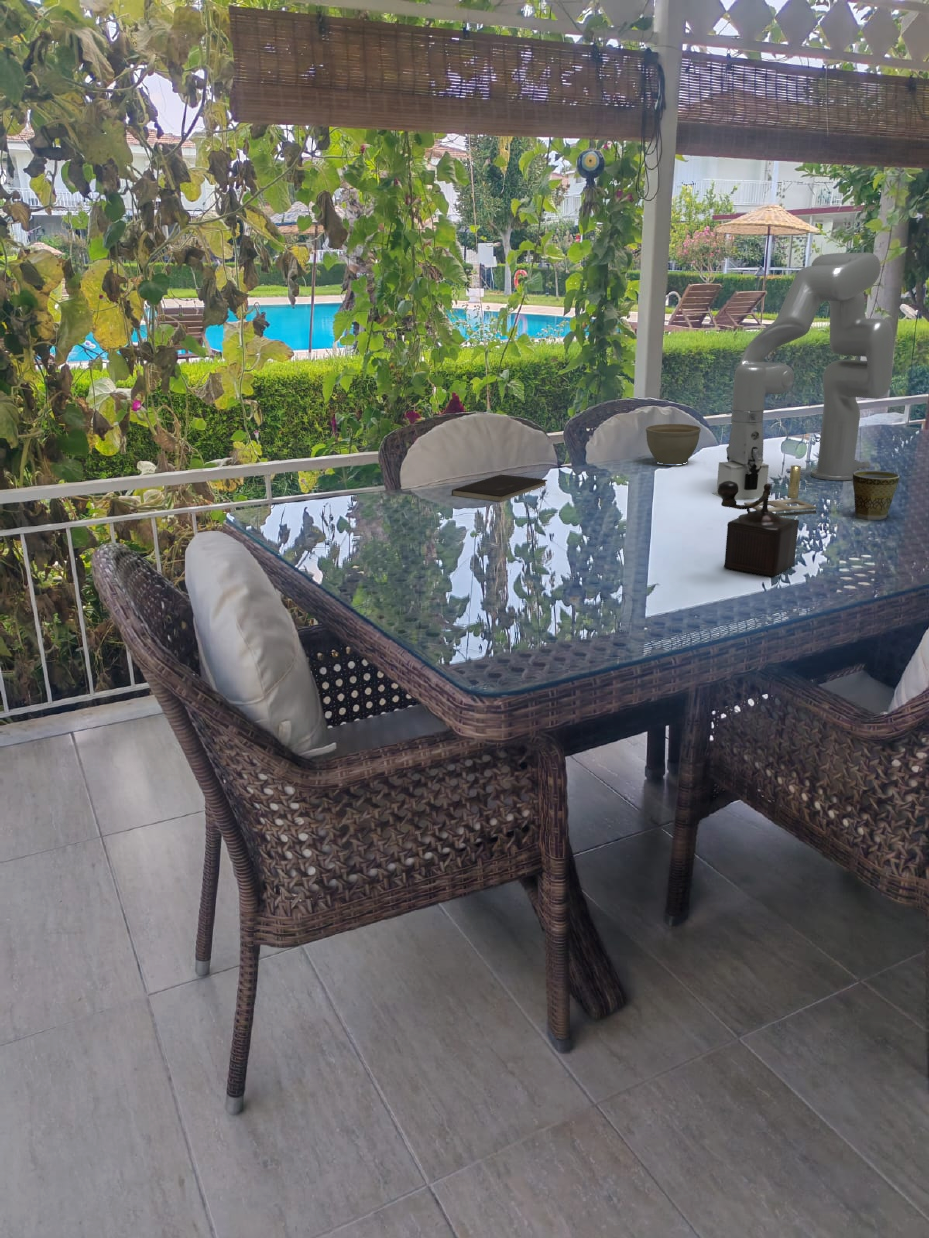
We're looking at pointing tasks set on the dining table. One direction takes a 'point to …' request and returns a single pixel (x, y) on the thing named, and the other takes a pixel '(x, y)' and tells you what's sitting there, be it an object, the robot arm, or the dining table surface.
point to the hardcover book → (499, 487)
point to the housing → (741, 478)
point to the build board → (787, 507)
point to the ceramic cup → (873, 493)
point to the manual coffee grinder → (758, 536)
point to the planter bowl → (672, 442)
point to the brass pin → (794, 481)
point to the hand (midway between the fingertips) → (741, 485)
